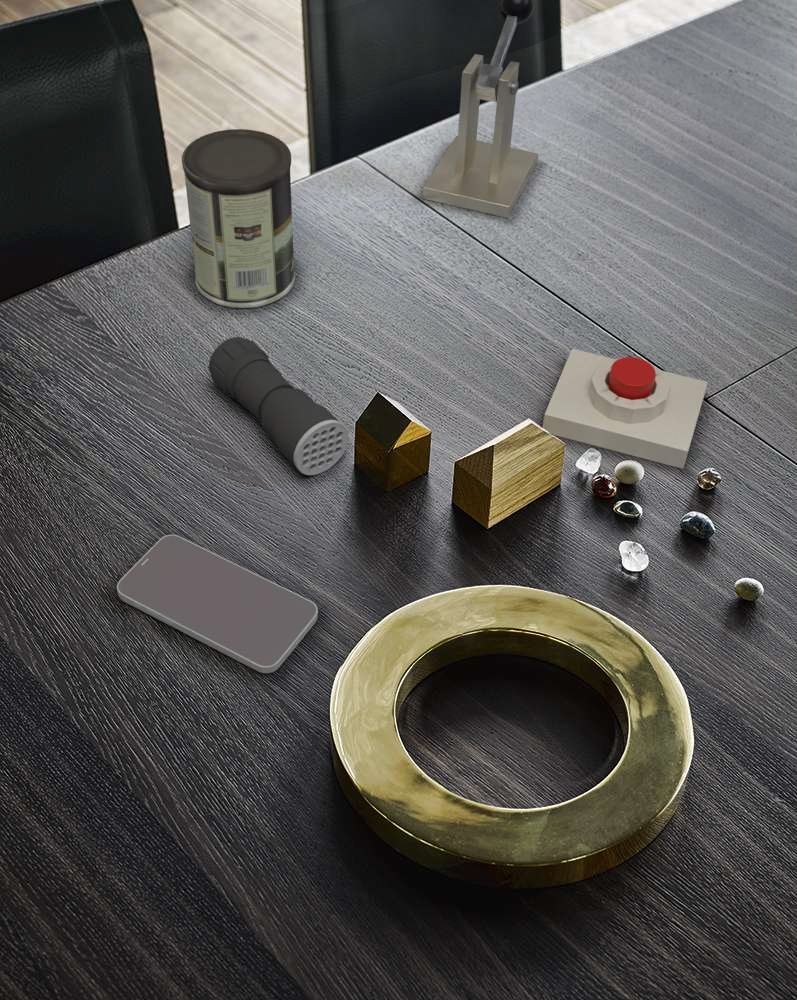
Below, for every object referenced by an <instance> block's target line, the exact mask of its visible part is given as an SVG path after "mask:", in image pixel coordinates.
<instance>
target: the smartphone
mask: <svg viewBox="0 0 797 1000" xmlns="http://www.w3.org/2000/svg"><path fill="white" fill-rule="evenodd" d="M116 591H117V596H118V598H119V599H120V600H121V601H122V602H124V603H126V604H128V605H130V606H131V607H133V608H135V609H137V610H139V611H140V612H143V613H145V614H146V615H149V616H150V617H153V618H154V619H156V620H158V621H161V622H162V623H164V624H166V625H168V626H170V627H172V628H174V629H176V630H178V631H180V632H182V633H183V634H185V635H187V636H190V637H191V638H193V639H195V640H197V641H199V642H200V643H203V644H204V645H206V646H208V647H210V648H212V649H214V650H216V651H217V652H220V653H222V654H224V655H226V656H228V657H229V658H231V659H233V660H235V661H237V662H239V663H241V664H243V665H245V666H247V667H248V668H251V669H252V670H255V671H256V672H258V673H261V674H271V673H275V672H276V671H277V670H279V668H280V667H281V666H282V665H283V664H284V663H285V661H286V660H287V659H288V657H289V656H291V654H292V652H294V650H295V649H296V647H297V646H298V645H299V644H300V642H301V641H302V640H303V639H304V638H305V636H306V635H307V634H308V633H309V631H310V630H311V629H312V628H313V627H314V625H315V624H316V623H317V621H318V617H319V615H318V614H319V610H318V606H317V605H316V603H315V602H314V601H312V600H310V599H308V598H306V597H304V596H302V595H301V594H298V593H296V592H295V591H292V590H290V589H288V588H286V587H284V586H282V585H280V584H278V583H276V582H274V581H272V580H270V579H268V578H265V577H263V576H261V575H259V574H257V573H256V572H253V571H251V570H249V569H247V568H245V567H243V566H241V565H239V564H237V563H235V562H233V561H231V560H230V559H229V560H228V559H227V558H225V557H223V556H220V555H219V554H217V553H214V552H213V551H211V550H208V549H207V548H204V547H202V546H200V545H198V544H196V543H194V542H192V541H190V540H188V539H186V538H184V537H182V536H180V535H177V534H167V535H164V536H162V537H161V538H159V540H157V541H156V542H155V544H153V545H152V546H151V548H149V550H147V552H145V554H143V556H141V558H140V559H138V561H137V562H135V564H134V565H133V566H132V567H131V568H130V569H128V571H127V572H126V573H125V574H124V575H123V576H122V577H121V578H120V579H119V580H118V582H117V584H116Z"/></svg>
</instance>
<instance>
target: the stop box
mask: <svg viewBox="0 0 797 1000" xmlns="http://www.w3.org/2000/svg"><path fill="white" fill-rule="evenodd" d="M618 359H619V358H612V357H608V356H605V355H601V354H597V353H593V352H588V351H583V350H580V349H575V348H571V350H570V352H569V353H568V356H567V359H566V361H565V364H564V367H563V369H562V371H561V374H560V376H559V379H558V381H557V383H556V386H555V388H554V391H553V392H552V395H551V398H550V400H549V402H548V404H547V407H546V410H545V412H544V416H543V421H542V428H544V429H545V430H547V431H548V432H550V433H551V434H550V435H551V436H555V437H560V438H562V439H563V438H564V439H568V440H571V441H575V442H579V443H583V444H586V445H590V446H594V447H598V448H601V449H605V450H609V451H612V452H616V453H619V454H625V455H629V456H632V457H635V458H639V459H644V460H647V461H650V462H651V461H652V462H656V463H658V464H663V465H666V466H670V467H674V468H678V469H682V470H684V469H685V466H686V465H685V464H686V461H687V459H688V458H687V457H688V454H689V451H690V447H691V444H692V440H693V438H694V435H695V434H694V433H695V431H696V426H697V423H698V419H699V416H700V412H701V409H702V405H703V402H704V399H705V395H706V391H707V387H708V383H709V381H705V380H702V379H697V378H693V377H689V376H685V375H681V374H677V373H673V372H669V371H664V370H662V369H659V368H658V367H656V366H654V365H653V364H651V363H650V364H651V365H652V366H653V367H654V369H655V372H656V377H655V381H654V385H653V390H652V392H651V394H650V395H649V396H648V397H646V398H644V399H637V400H630V399H626V398H622V397H618V396H617V395H616V394H614V393H613V392H612V391H611V390H610V388H609V385H608V381H609V376H610V371H611V366H612V364H613V363H614V362H615V361H617V360H618Z"/></svg>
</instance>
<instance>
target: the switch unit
mask: <svg viewBox="0 0 797 1000" xmlns="http://www.w3.org/2000/svg"><path fill="white" fill-rule="evenodd" d="M484 57H485V56H484V55H481V54H477V53H475V54H474V55H472V57H471V59H470V60H469V62H468V64H467V65H466V67H464V69H463V70H462V72H461V73H462V74H461V78H460V79H461V80H460V81H461V82H460V83H461V89H460V100H459V101H460V103H459V114H458V115H459V116H458V129H457V135H455V137H454V139H452V142H451V143H450V145H449V146H448V148H447V149H446V150H445V152H444V154H443V156H442V157H441V158H440V160H439V162H438V163H437V165H436V167H435V168H434V170H433V171H432V173H431V174H430V176H429V177H428V179H427V180H426V182H425V183H424V185H423V187H422V200H427V201H430V202H434V203H435V202H436V203H440V204H443V205H448V206H453V207H457V208H462V209H466V210H471V211H475V212H479V213H484V214H488V215H493V216H497V217H501V218H506V219H509V217H510V216H511V214H512V212H513V210H514V208H515V206H516V204H517V202H518V201H519V199H520V197H521V195H522V193H523V191H524V190H525V187H526V185H527V184H528V183H529V180H530V178H531V176H532V175H533V172H534V171H535V169H536V167H537V166H538V161H539V160H538V157H539V153H538V152H533V151H529V150H524V149H519V148H515V147H511V146H512V145H511V143H512V137H513V136H512V135H513V126H514V115H515V108H516V97H517V93H518V90H519V81H518V79H519V71H520V70H519V69H520V62H517V61H512V60H510V62H509V63H508V64H507V66H506V67H505V69H504V70H503V74H502V76H501V77H500V79H499V85H498V95H497V102H496V105H495V117H494V127H493V135H492V136H493V137H492V142H487V141H483V140H478V139H477V138H478V137H477V136H478V125H479V115H480V102H481V101H480V100H481V99H477V94H476V82H477V79H478V76H479V74H480V71H481V68H482V65H483V64H484Z"/></svg>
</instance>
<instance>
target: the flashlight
mask: <svg viewBox="0 0 797 1000" xmlns="http://www.w3.org/2000/svg"><path fill="white" fill-rule="evenodd" d="M208 370H209V373H210V376H211V378H212V381H213V382H214V383H215V385H216V386H217V387H218V388H220V390H221V391H222V392H223V393H224V394H225V395H226V396H228V397H230V398H231V397H232V398H234V399H235V400H236V401H238V403H239V404H241V406H242V407H243V408H245V409H247V410H249V411H250V412H251V413H252V415H254V416H255V418H257V419H258V421H260V423H261V427H262V430H263V432H264V433H265V434H267V436H268V437H269V438H270V439H271V440H272V441H274V442H275V444H276V445H277V448H278V450H279V452H281V454H282V455H283V456H284V457H285V458H286V459H287V460H288V461H289V462H290V463H291V464H292V465H293V466H294V467H295V468H296V469H297V470H298V471H299V472H300V473H301V474H303V475H306V476H317V475H319V474H320V475H321V474H322V473H325V472H326V471H327V470H329V469H331V468H332V467H333V466H334V465H335V464H337V462H338V461H340V459H341V458H342V456H343V455H344V453H345V452H346V449H347V447H348V445H349V437H350V435H349V431H348V429H347V427H346V426H345V425H344V424H343V423H342V422H341V421H340V420H339V419H337V417H335V415H334V414H332V413H331V411H329V410H328V409H327V408H326V407H325V406H323V405H322V404H320V403H317V402H316V401H314V399H313V398H312V397H310V395H308V393H307V392H305V391H304V390H303V389H300V388H295V387H294V386H293V385H292V384H291V383H290V382H289V381H288V380H287V379H286V378H284V376H283V375H282V374H281V372H280V371H279V369H278V368H277V367H276V366H275V365H274V364H272V362H271V361H270V359H269V356H268V354H267V353H266V352H265V351H264V350H263V349H262V348H261V347H260V346H259V345H258V344H257V343H255V342H254V341H253V340H250V339H249V338H244V337H242V336H234V337H230V338H227V339H226V340H224V341H222V342H221V343H220V344H218V346H217V347H216V348H215V349H214V350H213V352H212V354H211V355H210V359H209V361H208Z"/></svg>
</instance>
